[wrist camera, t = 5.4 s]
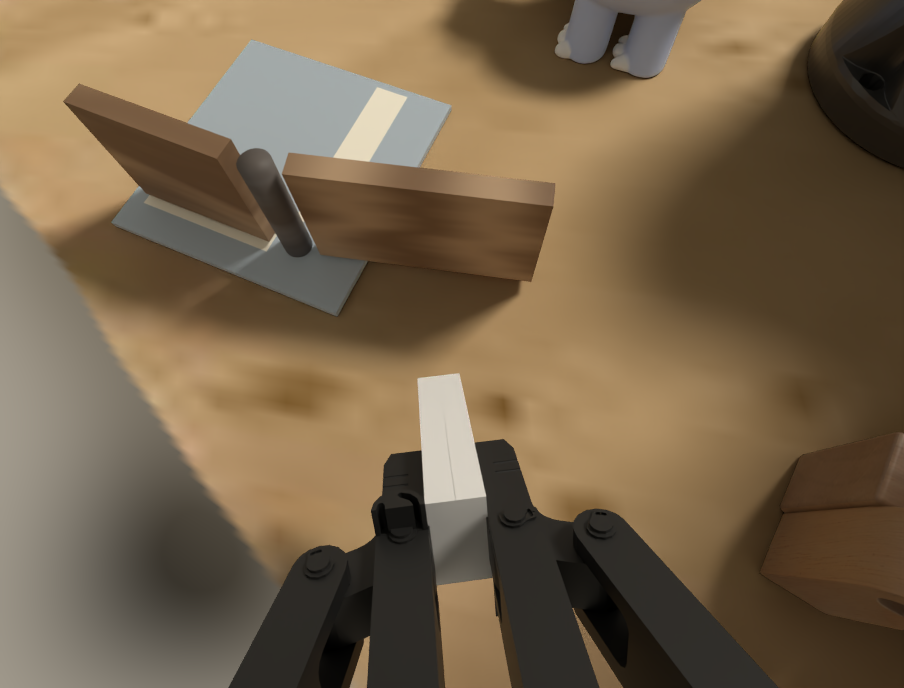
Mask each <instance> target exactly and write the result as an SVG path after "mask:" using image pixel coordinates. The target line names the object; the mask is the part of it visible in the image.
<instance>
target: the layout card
mask: <svg viewBox="0 0 904 688" xmlns="http://www.w3.org/2000/svg"><path fill="white" fill-rule="evenodd" d="M450 112H451V105H448V104H445V103H442V102H439V101H436V100H433V99H430V98H427V97H424V96H421V95H418V94H415V93H412V92H409V91H406V90H403V89H400V88H397V87H394V86H391V85H388V84H385V83H382V82H379V81H376V80H373V79H370V78H367V77H364V76H361V75H358V74H355V73H351V72H348V71H345V70H342V69H339V68H336V67H333V66H330V65H327V64H324V63H321V62H318V61H315V60H312V59H309V58H306V57H303V56H300V55H297V54H294V53H291V52H288V51H285V50H282V49H279V48H276V47H273V46H270V45H267V44H264V43H261V42H258V41H255V40H252V39H251V41H250V42H249V43H248V45H247V46H246V47H245V49H244V50H243V51H242V52H241V54H240V55H239V56H238V58H237V59H236V60H235V62H234V63H233V64H232V65H231V67H230V68H229V69H228V71H227V72H226V73H225V75H224V76H223V77H222V78H221V80H220V81H219V82H218V84H217V85H216V86H215V88H214V89H213V90H212V92H211V93H210V94H209V95H208V97H207V98H206V99H205V101H204V102H203V103H202V105H201V106H200V107H199V108H198V110H197V111H196V112H195V114H194V115H193V116H192V118H191V119H190V120H189V121H188V124H191V125H194V126H197V127H199V128H202V129H205V130H208V131H210V132H213V133H216V134H218V135H221V136H224V137H227V138H229V139H231V140H232V142H233V143H234V145H235V147H236V149H237V151H238V152H239V154H240V155H241V154H242V153H243V152H245V151H247V150H249V149H253V148H260V149H264V150H266V151H267V152H269V154H270V155H271V157H272V159H273V161H274V163H275V165H276V167H277V169H278V171H279V173H280V176H281V178H282V180H283V182H284V184H285V186H286V188H287V190H288V192H289V194H290V196H291V198H292V200H293V202H294V204H295V206H296V209H297V211H298V213H299V215H300V217H301V219H302V221H303V223H304V225H305V227H306V229H307V231H308V233H309V235H310V237H311V240H312V243H313V246H312V249H311V251H310V252H309V253H308V254H307V255H305V256H303V257H292V256H290V255H289V254H288V253H287V252H286V250H285V249H284V247H283V245H282V244H281V242H280V240H279V239H278V237H277V235H276V234H274V235H273V237H272V238H271V240H270V242H268V241H266V240H263V239H261V238H258V237H255V236H253V235H250V234H248V233H245V232H243V231H240V230H238V229H235V228H233V227H230V226H227V225H225V224H222V223H220V222H217V221H215V220H212V219H210V218H207V217H205V216H202V215H200V214H197V213H194V212H192V211H189V210H187V209H184V208H182V207H179V206H177V205H174V204H172V203H169V202H166V201H164V200H161V199H159V198H156V197H154V196H151V195H149V194H146V193H145V192H144V191H143V190H142V188H141V187H140V186H139V187H138V188H137V189H136V190H135V192H134V193H133V194H132V196H131V197H130V198H129V200H128V201H127V202H126V204H125V205H124V206H123V207H122V209H121V210H120V211H119V213H118V214H117V215H116V217H115V218H114V219H113V220H112V222H111V223H112V224H113V225H115V226H116V227H119V228H121V229H124V230H126V231H128V232H131V233H133V234H136V235H138V236H141V237H143V238H146V239H148V240H151V241H153V242H155V243H158V244H160V245H163V246H165V247H168V248H170V249H173V250H175V251H177V252H180V253H182V254H185V255H187V256H190V257H192V258H195V259H197V260H199V261H202V262H204V263H207V264H209V265H212V266H214V267H217V268H219V269H222V270H224V271H226V272H229V273H231V274H234V275H236V276H239V277H241V278H244V279H246V280H248V281H251V282H253V283H256V284H258V285H261V286H263V287H266V288H268V289H271V290H273V291H275V292H278V293H280V294H283V295H285V296H288V297H290V298H293V299H295V300H297V301H300V302H302V303H305V304H307V305H310V306H312V307H315V308H317V309H319V310H322V311H324V312H327V313H329V314H332V315H334V316H338V315H339V313H340V311H341V309H342V307H343V306H344V304H345V302H346V300H347V298H348V296H349V295H350V293H351V291H352V289H353V287H354V286H355V284H356V282H357V280H358V278H359V277H360V275H361V273H362V271H363V269H364V267H365V266H366V264H367V262H368V261H365V260H357V259H349V258H341V257H333V256H326V255H320V253H319V251H318V249H317V247H316V245H315V243H314V241H313V238H312V236H311V234H310V232H309V230H308V228H307V226H306V224H305V222H304V220H303V218H302V216H301V213H300V211H299V209H298V207H297V205H296V203H295V201H294V199H293V197H292V195H291V193H290V191H289V188H288V186H287V184H286V182H285V180H284V178H283V176H282V171H283V168H284V165H285V162H286V159H287V156H288V153H298V154H306V155H315V156H324V157H332V158H341V159H349V160H358V161H367V162H375V163H384V164H392V165H401V166H410V167H418V168H420V166H421V164H422V162H423V161H424V159H425V157H426V155H427V153H428V152H429V150H430V148H431V146H432V144H433V143H434V141H435V139H436V137H437V135H438V134H439V132H440V130H441V128H442V126H443V124H444V123H445V121H446V119H447V117H448V115H449V114H450Z"/></svg>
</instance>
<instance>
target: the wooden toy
mask: <svg viewBox="0 0 904 688" xmlns="http://www.w3.org/2000/svg"><path fill="white" fill-rule="evenodd" d="M780 509H781V510H782V511H783V512H785V514H783V516H782V518H781V520H780V523H779V525H778V528H777V530H776V533H775V535H774V537H773V540H772V542H771V545H770V547H769V550H768V552H767V555H766V558H765V560H764V563H763V565H762V568H761V570H760V574H762V575H763V576H765V577H766V578H768V579H770V580H771V581H773V582H774V583H776V584H778V585H779V586H781V587H782V588H784V589H786V590H787V591H789V592H791V593H792V594H794V595H795V596H797V597H799V598H800V599H802V600H804V601H805V602H807V603H808V604H810V605H812V606H813V607H815V608H817V609H818V610H820V611H822V612H823V613H825V614H827V615H832V616H837V617H841V618H846V619H850V620H855V621H860V622H865V623H869V624H874V625H879V626H884V627H889V628H893V629H898V630H903V631H904V433H901V432H894V433H890V434H886V435H882V436H878V437H874V438H869V439H865V440H861V441H857V442H853V443H849V444H845V445H840V446H836V447H832V448H828V449H824V450H820V451H816V452H811V453H807V454H803V455H802V456H801V457H800V458H799V461H798V463H797V466H796V468H795V471H794V473H793V475H792V478H791V480H790V483H789V485H788V488H787V490H786V493H785V495H784V498H783V500H782V503H781V505H780Z"/></svg>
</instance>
